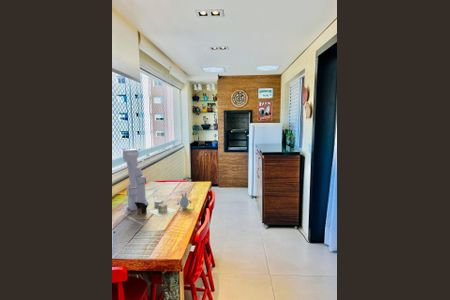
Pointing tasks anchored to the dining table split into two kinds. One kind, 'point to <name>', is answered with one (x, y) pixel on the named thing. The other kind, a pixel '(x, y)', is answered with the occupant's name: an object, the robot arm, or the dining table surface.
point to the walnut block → (140, 211)
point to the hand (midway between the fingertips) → (142, 212)
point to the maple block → (162, 208)
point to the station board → (169, 210)
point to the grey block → (158, 203)
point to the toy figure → (184, 202)
